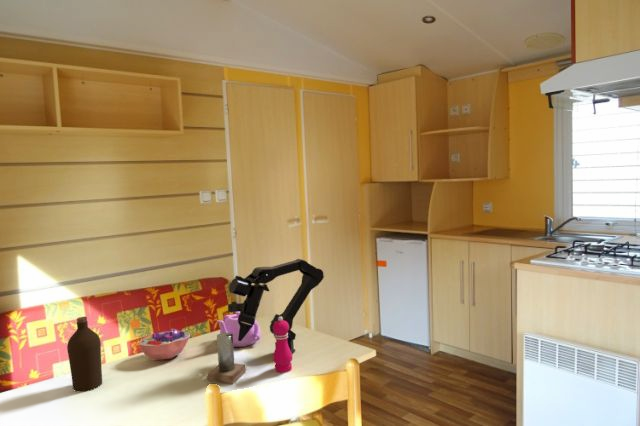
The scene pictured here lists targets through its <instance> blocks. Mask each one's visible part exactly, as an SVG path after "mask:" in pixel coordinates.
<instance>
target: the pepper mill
mask: <svg viewBox="0 0 640 426" xmlns="http://www.w3.org/2000/svg"><path fill="white" fill-rule="evenodd" d="M278 320H279V321H276V322H275V323H274V325H273V331H274V332H275V337H274V339H275V342H276V348H274V352H273V355H272V361H273V363H274V371H275V372H277V373H279V374H280V373H288V372H291V371H292V368H293V366H292V363H291V362H292V361H293V354H292V353H291V350H290V348H289V346H288V343H287V338H288V333H287V332H288V330H289V324H288V323H287V322H286V321H284V320H283V318H282V317H281V316H280V317H278Z"/></svg>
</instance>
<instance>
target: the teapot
mask: <svg viewBox="0 0 640 426" xmlns="http://www.w3.org/2000/svg"><path fill="white" fill-rule="evenodd" d="M239 314H240V312H235V313H234V314H232V315H231V314H226V315H224V316H223V318H222V320H216V322H217V323H219V329H220V330H219V334H220V333H226V332H228V333H232V334H233V348H234V347H235V348H236V347H238V348H239V347H240V348H241V347H245V346H246V347H247V346H250V345H253V344H255V343H256V342H257V341H259V340H260V339H261V335H262V333H261V332H262V331H261V327H260V326H259V323H258V321H257V320H256V319H255V322H254V325H253V327H252V328H251V329H250V330H249V332H248V333H247V334H246V335H245V337H244V338H243V339H242V340H241V341H238V337H239V330H240V325H239V323H238V322H237V321H239V320H238V317H239Z"/></svg>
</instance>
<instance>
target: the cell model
mask: <svg viewBox="0 0 640 426" xmlns="http://www.w3.org/2000/svg"><path fill="white" fill-rule="evenodd" d="M190 337H191V334H190V333H189V332H187V331H183V330H178V329H176V328H171V330H169V331H167V330H165V331H161V332H158V331H157V332H154V333H152V334H151V335H148V336H145V337H143V338H141V339H140V341H139V342H138V345H139V347H140V349H141V351H142V353H143V354H144V355H145V356H147V357H148V358H150V359H151V360H154V361H161V360H170V359H173V358H174V357H176V356H178V355H180V354H181V353H182V352H183V350H184V349H185V347H186V346H187V344H188V342H189V339H190Z"/></svg>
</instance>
